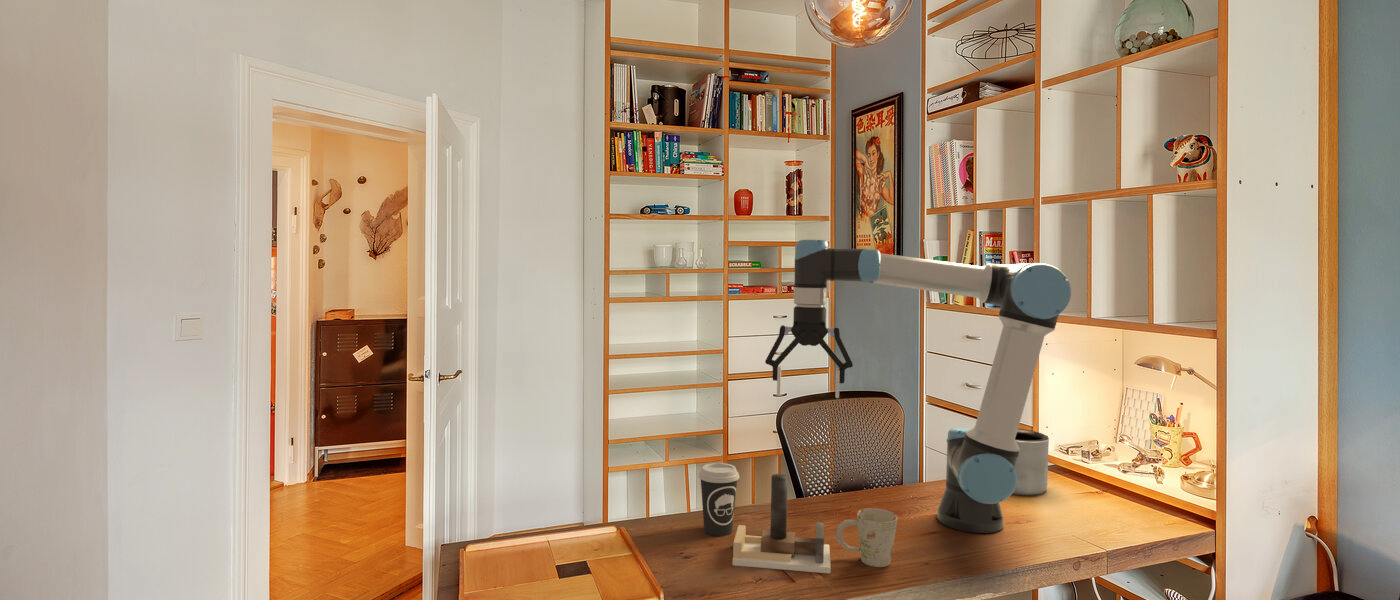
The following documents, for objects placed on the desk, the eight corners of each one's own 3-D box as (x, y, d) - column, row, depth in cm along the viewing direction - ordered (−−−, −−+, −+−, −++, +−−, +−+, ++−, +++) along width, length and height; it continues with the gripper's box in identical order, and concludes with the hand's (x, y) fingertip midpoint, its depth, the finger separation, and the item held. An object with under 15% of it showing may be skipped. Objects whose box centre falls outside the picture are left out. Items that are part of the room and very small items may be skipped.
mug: (897, 571, 144) (898, 523, 143) (835, 565, 146) (836, 518, 146) (894, 555, 152) (895, 510, 151) (835, 549, 154) (836, 505, 154)
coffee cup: (743, 526, 167) (744, 464, 166) (731, 541, 158) (733, 475, 157) (705, 521, 170) (706, 460, 170) (691, 535, 161) (692, 471, 160)
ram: (822, 545, 153) (824, 473, 152) (823, 562, 144) (825, 486, 143) (763, 540, 155) (764, 469, 154) (760, 557, 146) (761, 481, 145)
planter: (1042, 501, 189) (1045, 444, 188) (980, 489, 198) (982, 435, 197) (1050, 485, 202) (1052, 432, 201) (991, 475, 211) (993, 424, 210)
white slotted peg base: (829, 549, 154) (829, 530, 154) (830, 573, 142) (830, 552, 142) (738, 542, 157) (739, 523, 157) (732, 565, 146) (732, 544, 145)
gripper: (863, 306, 166) (860, 395, 167) (757, 303, 170) (756, 390, 171) (865, 308, 158) (863, 401, 160) (755, 305, 162) (753, 396, 164)
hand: (807, 395), depth 165 cm, fingers open, 13 cm apart
